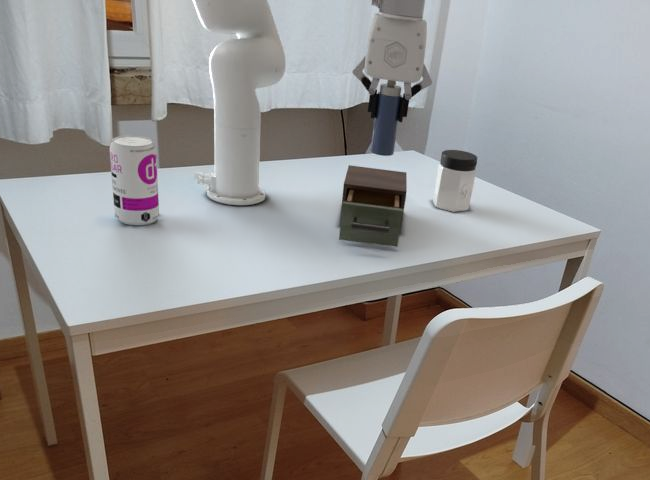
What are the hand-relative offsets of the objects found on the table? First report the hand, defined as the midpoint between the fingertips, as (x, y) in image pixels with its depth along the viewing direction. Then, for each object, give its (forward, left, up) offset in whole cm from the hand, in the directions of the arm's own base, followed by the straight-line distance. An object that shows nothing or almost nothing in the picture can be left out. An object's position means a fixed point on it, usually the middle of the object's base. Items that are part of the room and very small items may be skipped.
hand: (386, 117), depth 123 cm
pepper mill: (0, 0, -6) cm, 6 cm away
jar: (+18, +26, -24) cm, 39 cm away
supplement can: (-45, -6, -24) cm, 52 cm away
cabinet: (0, +10, -23) cm, 26 cm away
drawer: (0, -2, -22) cm, 23 cm away
